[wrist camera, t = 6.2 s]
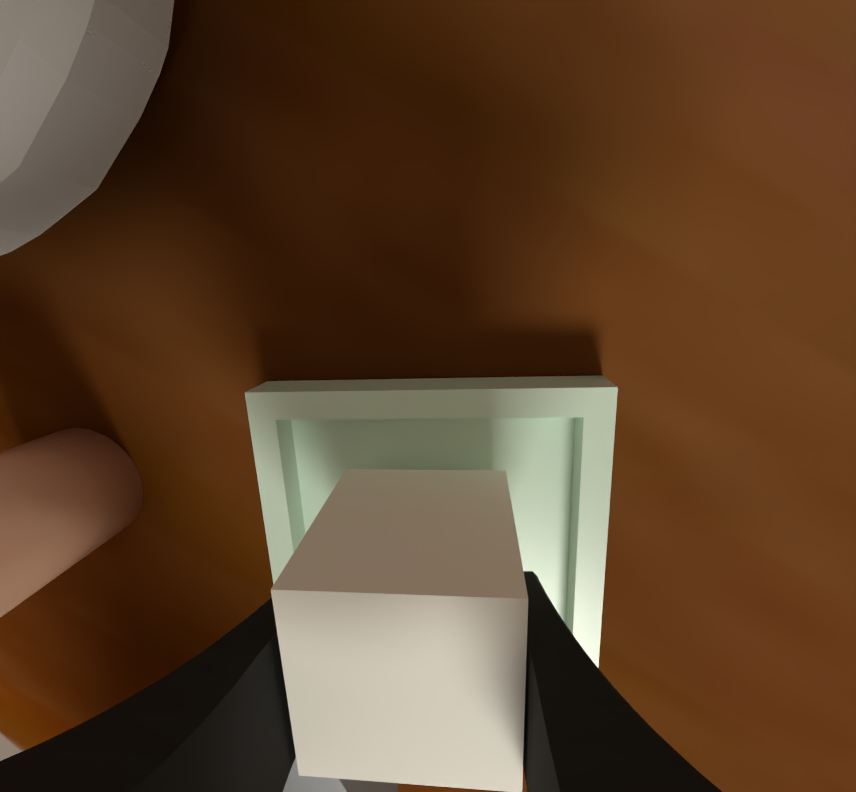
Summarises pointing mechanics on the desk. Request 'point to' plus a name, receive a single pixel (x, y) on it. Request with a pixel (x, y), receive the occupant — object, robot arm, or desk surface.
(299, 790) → the slate block
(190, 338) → the desk surface
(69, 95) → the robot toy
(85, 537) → the pink rounded capsule
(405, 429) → the tray
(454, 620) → the cream block
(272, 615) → the robot arm
